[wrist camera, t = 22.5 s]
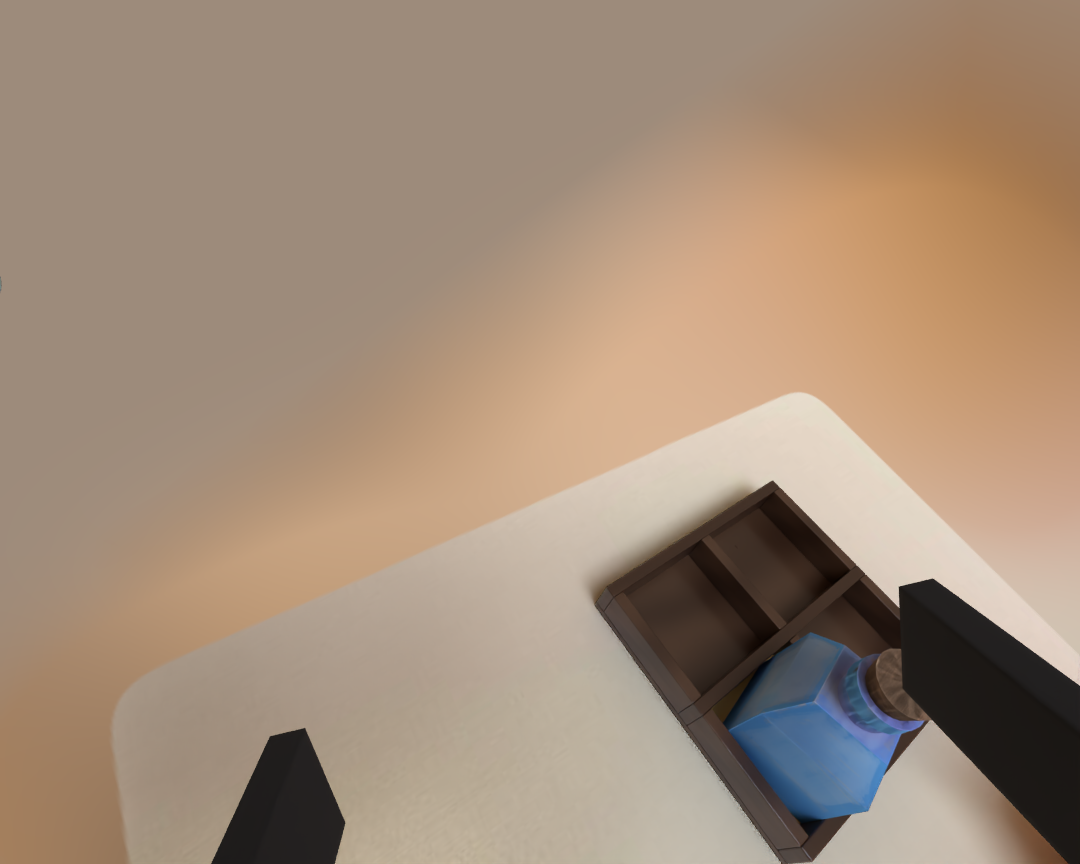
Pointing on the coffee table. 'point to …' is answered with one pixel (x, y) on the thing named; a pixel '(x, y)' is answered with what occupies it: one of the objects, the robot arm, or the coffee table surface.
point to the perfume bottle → (824, 725)
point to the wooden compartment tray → (747, 634)
